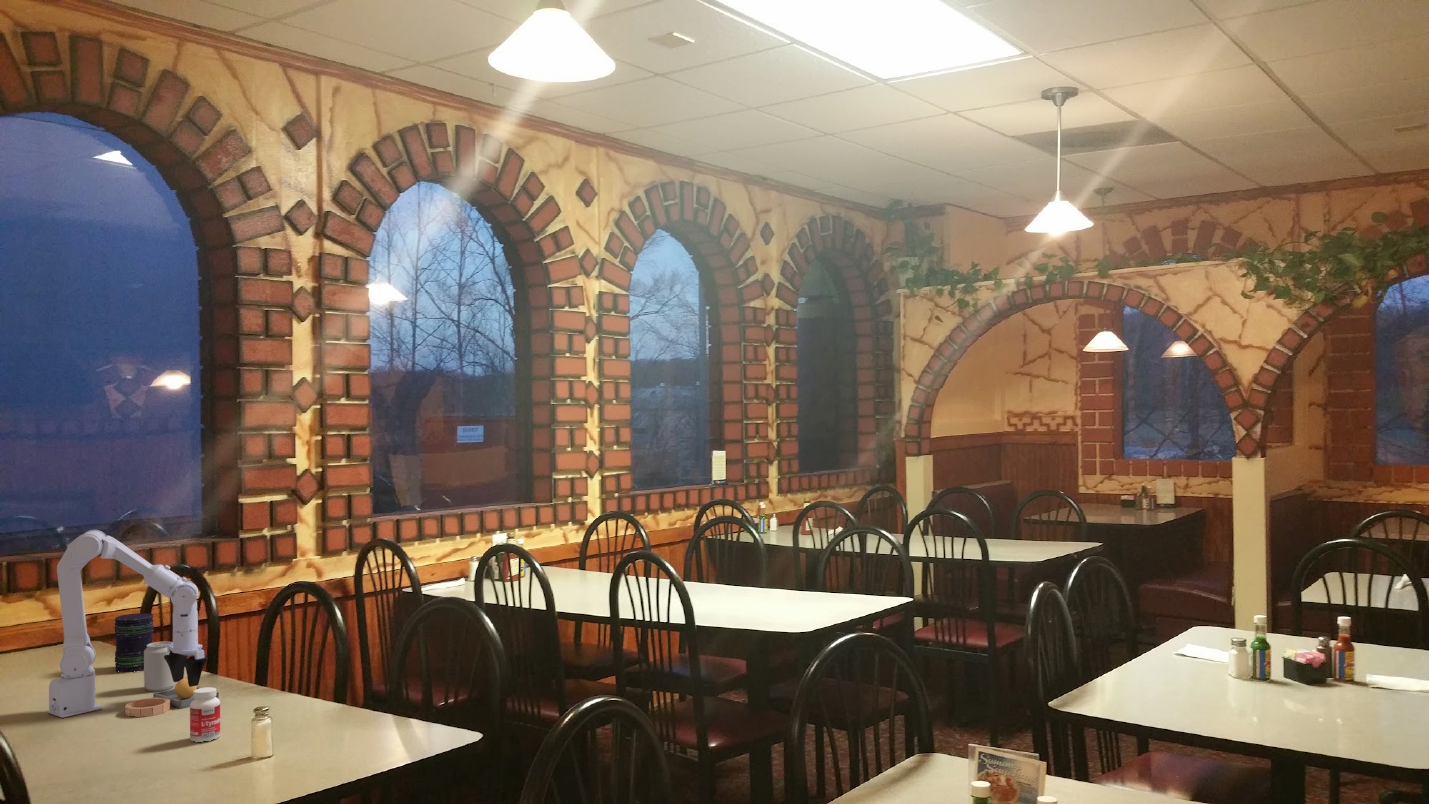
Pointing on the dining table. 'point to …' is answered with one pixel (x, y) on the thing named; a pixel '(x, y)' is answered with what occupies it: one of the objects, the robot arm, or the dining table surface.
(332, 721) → the dining table surface
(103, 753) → the dining table surface
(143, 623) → the storage jar
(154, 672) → the can
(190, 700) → the tray
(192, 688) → the ball
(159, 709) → the dish
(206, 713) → the pill bottle
